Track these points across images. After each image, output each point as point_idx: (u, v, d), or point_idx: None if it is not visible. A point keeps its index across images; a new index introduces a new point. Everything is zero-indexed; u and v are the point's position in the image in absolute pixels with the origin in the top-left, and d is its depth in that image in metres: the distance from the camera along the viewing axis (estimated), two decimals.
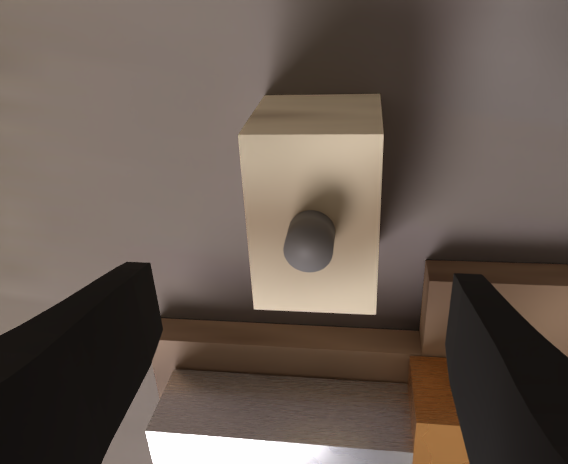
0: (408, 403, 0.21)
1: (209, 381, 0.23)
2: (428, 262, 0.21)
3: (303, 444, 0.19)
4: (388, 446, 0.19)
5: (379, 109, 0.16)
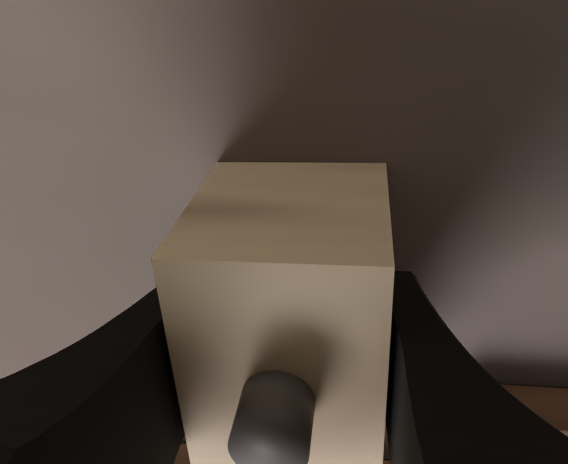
0: None
1: None
2: None
3: None
4: None
5: (385, 200, 0.10)
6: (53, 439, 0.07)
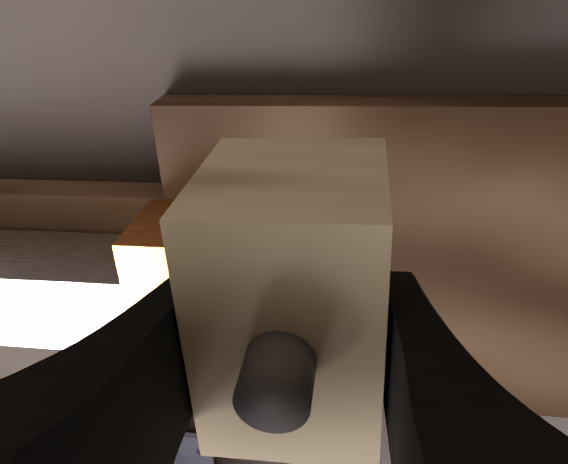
0: None
1: None
2: (164, 95, 0.19)
3: (11, 279, 0.18)
4: (98, 280, 0.18)
5: (384, 169, 0.11)
6: (53, 439, 0.07)
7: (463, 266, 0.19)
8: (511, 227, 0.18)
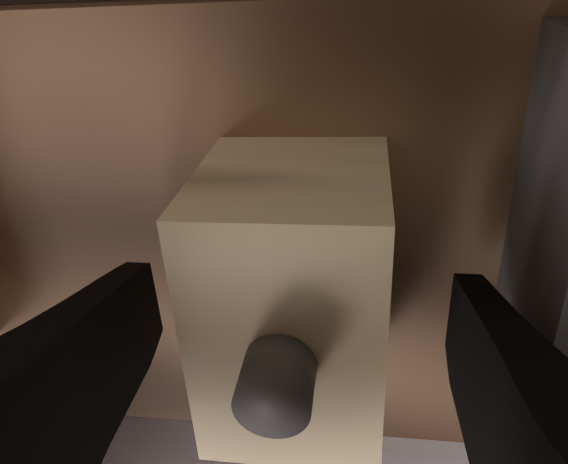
0: None
1: None
2: None
3: None
4: None
5: (386, 169, 0.11)
6: None
7: None
8: None
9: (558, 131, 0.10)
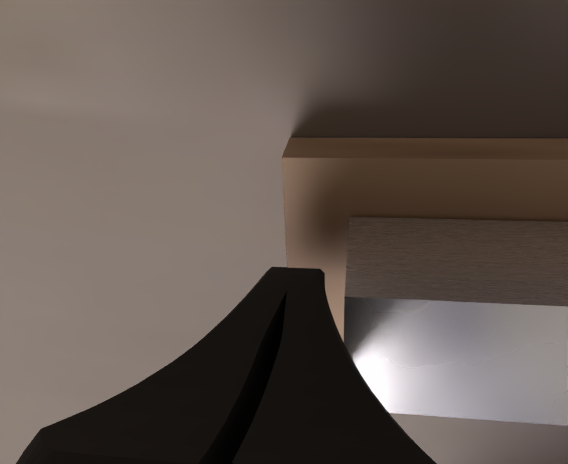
0: None
1: (425, 230, 0.12)
2: None
3: None
4: None
5: None
6: (214, 453, 0.06)
7: None
8: None
9: None
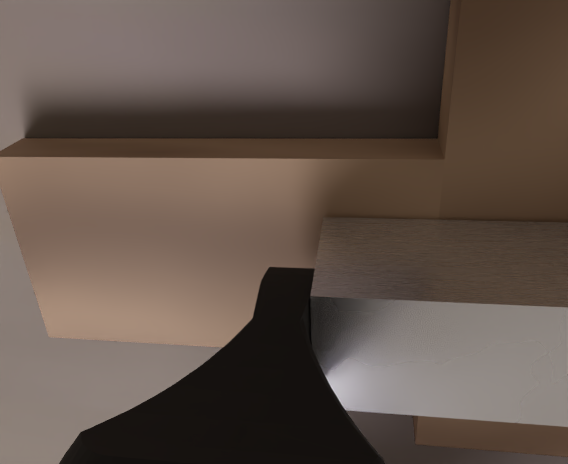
0: None
1: (397, 230, 0.12)
2: None
3: None
4: None
5: None
6: None
7: None
8: None
9: None
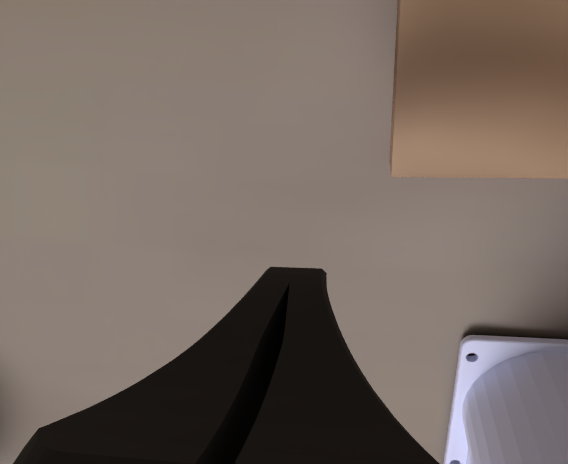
0: None
1: None
2: None
3: None
4: None
5: None
6: (211, 452, 0.06)
7: None
8: None
9: None
